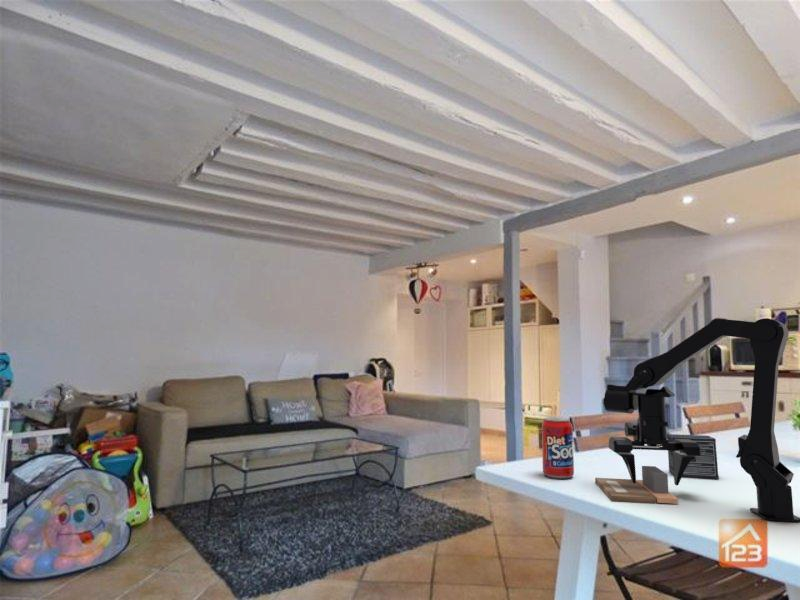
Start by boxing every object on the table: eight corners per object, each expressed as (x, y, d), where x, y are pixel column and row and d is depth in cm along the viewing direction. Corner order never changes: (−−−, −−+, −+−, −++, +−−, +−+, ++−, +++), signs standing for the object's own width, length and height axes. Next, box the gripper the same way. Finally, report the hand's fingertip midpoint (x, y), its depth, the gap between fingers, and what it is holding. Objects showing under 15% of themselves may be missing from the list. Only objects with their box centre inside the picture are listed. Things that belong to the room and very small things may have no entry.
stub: (678, 503, 107) (676, 478, 107) (657, 502, 107) (656, 477, 108) (652, 484, 122) (651, 462, 123) (634, 483, 123) (633, 462, 124)
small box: (711, 474, 135) (709, 434, 136) (719, 480, 128) (717, 438, 129) (668, 471, 137) (666, 432, 139) (674, 477, 131) (672, 436, 132)
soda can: (555, 471, 136) (553, 415, 138) (580, 477, 130) (578, 419, 131) (536, 475, 132) (535, 417, 133) (561, 481, 125) (560, 421, 127)
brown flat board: (655, 503, 107) (655, 497, 108) (612, 501, 109) (611, 495, 109) (633, 484, 123) (633, 479, 123) (595, 482, 124) (595, 477, 125)
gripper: (680, 412, 123) (684, 477, 121) (602, 410, 126) (604, 473, 124) (700, 418, 112) (704, 489, 111) (613, 416, 115) (616, 485, 113)
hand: (655, 484), depth 115 cm, fingers open, 9 cm apart
